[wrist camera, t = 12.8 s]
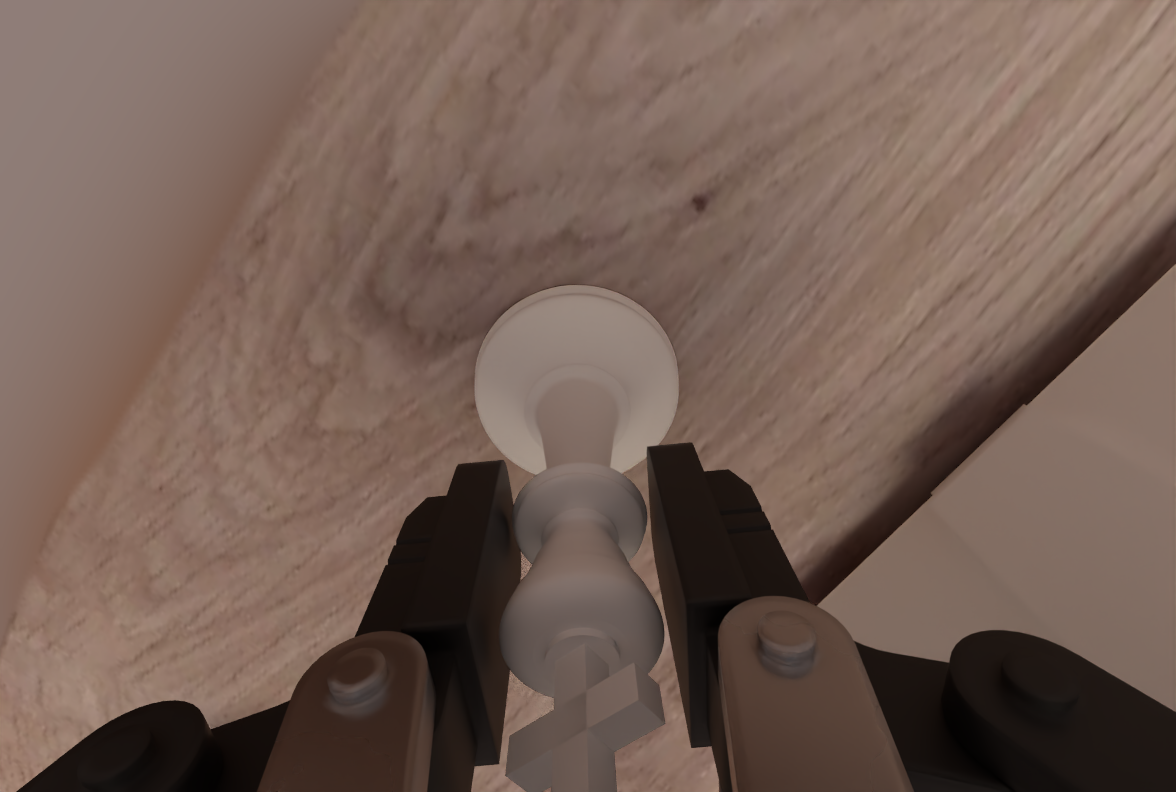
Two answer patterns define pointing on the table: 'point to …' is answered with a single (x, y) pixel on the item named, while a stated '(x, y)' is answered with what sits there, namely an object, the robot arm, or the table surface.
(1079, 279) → the table surface
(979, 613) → the white voxel figure
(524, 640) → the chess piece
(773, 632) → the robot arm
